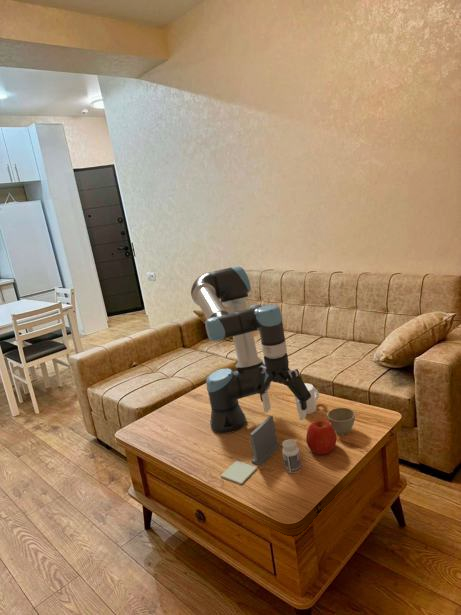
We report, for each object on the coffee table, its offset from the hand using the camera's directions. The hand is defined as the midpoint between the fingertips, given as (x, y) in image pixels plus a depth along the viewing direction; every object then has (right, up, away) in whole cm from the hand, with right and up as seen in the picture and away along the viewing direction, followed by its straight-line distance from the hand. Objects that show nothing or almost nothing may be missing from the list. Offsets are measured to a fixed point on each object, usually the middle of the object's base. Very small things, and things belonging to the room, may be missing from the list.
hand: (284, 414), depth 136 cm
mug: (+16, -8, +42) cm, 46 cm away
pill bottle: (+4, -20, +5) cm, 21 cm away
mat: (-15, -22, +8) cm, 28 cm away
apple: (+15, -16, +13) cm, 26 cm away
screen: (-5, -18, +16) cm, 25 cm away
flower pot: (+25, -12, +21) cm, 35 cm away
